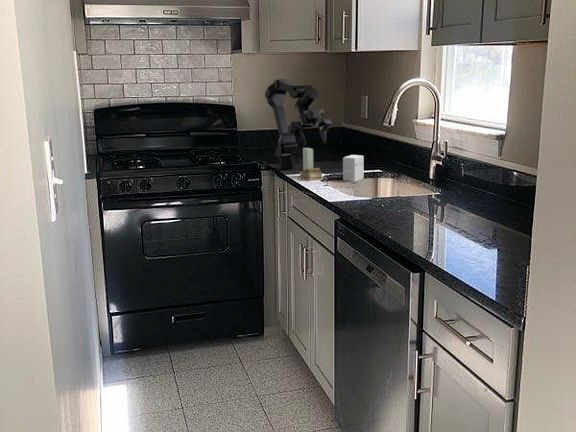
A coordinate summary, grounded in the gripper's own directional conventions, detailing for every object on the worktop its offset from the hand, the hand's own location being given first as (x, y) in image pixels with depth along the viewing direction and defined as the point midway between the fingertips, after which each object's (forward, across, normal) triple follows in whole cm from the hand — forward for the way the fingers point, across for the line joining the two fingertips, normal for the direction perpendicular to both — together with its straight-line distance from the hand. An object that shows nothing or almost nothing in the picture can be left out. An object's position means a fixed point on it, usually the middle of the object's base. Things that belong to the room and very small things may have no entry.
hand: (315, 144), depth 270 cm
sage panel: (+10, -2, +10) cm, 14 cm away
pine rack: (+12, -3, +9) cm, 15 cm away
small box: (+20, +11, -2) cm, 22 cm away
